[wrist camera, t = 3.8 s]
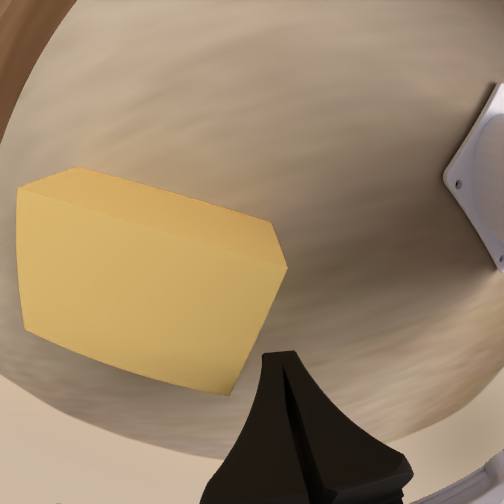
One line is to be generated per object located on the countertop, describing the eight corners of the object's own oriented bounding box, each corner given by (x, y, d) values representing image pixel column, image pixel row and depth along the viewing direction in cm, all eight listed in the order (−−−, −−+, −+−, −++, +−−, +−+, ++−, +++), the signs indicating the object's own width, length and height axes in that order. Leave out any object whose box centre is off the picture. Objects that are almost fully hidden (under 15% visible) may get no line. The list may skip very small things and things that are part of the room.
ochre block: (270, 220, 13) (287, 267, 8) (229, 328, 15) (228, 396, 11) (78, 166, 11) (17, 187, 7) (68, 279, 13) (25, 329, 9)
